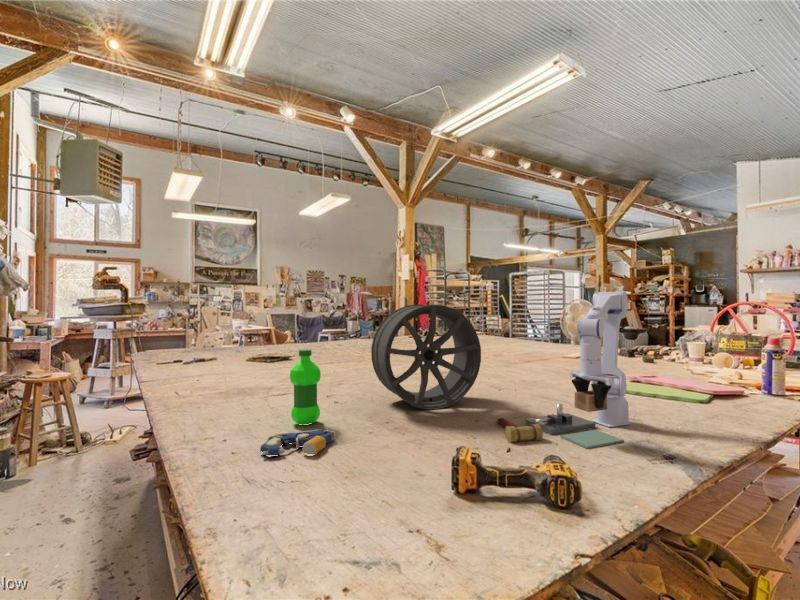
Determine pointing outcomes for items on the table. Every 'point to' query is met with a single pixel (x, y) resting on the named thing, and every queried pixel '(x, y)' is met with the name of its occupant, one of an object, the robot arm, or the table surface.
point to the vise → (560, 422)
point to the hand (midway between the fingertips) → (591, 405)
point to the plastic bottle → (305, 389)
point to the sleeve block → (587, 401)
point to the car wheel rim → (429, 356)
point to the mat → (591, 439)
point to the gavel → (520, 431)
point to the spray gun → (298, 441)
